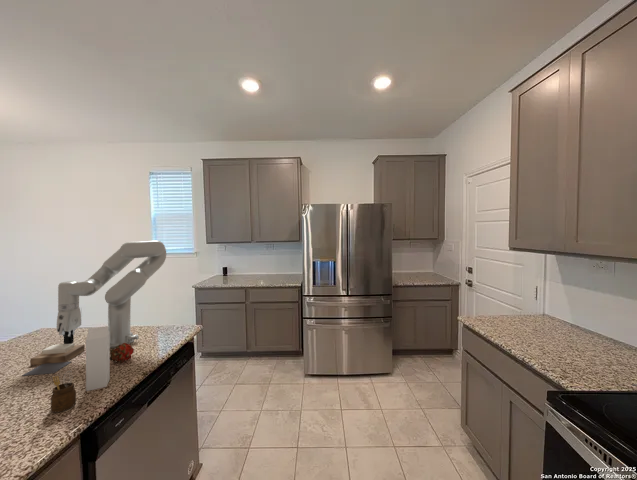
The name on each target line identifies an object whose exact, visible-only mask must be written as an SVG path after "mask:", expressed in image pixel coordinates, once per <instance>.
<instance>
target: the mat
mask: <svg viewBox="0 0 637 480" xmlns="http://www.w3.org/2000/svg"><path fill="white" fill-rule="evenodd" d="M71 363H72V361H67V362H59V363H47V364H42V365H37V366H36V367H35V368H33V369H31V370H29V371H28V372H25V373H24V374H22V375H21V376H22V377H27V376H28V377H29V376H37V375H48V374H49V375H51V374H55V373H58V371H60V370H62V369H63V368H65V367H66V366H68V365H69V364H71Z"/></svg>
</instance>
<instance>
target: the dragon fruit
mask: <svg viewBox="0 0 637 480" xmlns="http://www.w3.org/2000/svg"><path fill="white" fill-rule="evenodd" d="M134 351H135V350H134V347H133V346H132V345H130V344H127V343H123V344H122V345H118V346H117V347H115V348H111V350H110V361H112V362H115V363H117V364H123V363H124V362H125V361H129V360H131V359H132V355H133V354H134Z"/></svg>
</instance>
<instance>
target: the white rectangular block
mask: <svg viewBox="0 0 637 480" xmlns="http://www.w3.org/2000/svg"><path fill="white" fill-rule="evenodd" d="M74 345H75V343H72V344H64V343H63V344H62V343H61V344H52V345H50V346H47V347H46V348H44V349H42V350H41V353H42V354H56V353H66V352H68V351H69V350H71V349H73V348H74Z"/></svg>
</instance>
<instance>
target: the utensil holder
mask: <svg viewBox="0 0 637 480" xmlns="http://www.w3.org/2000/svg"><path fill="white" fill-rule="evenodd" d="M66 373H68V374H66V375H63V381H62V382H63V383H61V380H60V377H59V375H57V376H56V375H55V376H54V375H53V376H52V380H53V384H54V385H55V386H54V387H53V388H52V392H51V393H52V394H51V396H50V411H51V413H55V414H56V413H61V412H65V411H68V410H70V409H72V408H73V407H74V406H75V404H76V401H77V396H76V395H77V392H76V388H75V383H74V382H72V380H73V378H74V376H71V371H69V370H67V371H66ZM68 375H69V376H71V378H70V380H67V378H66V377H69V376H68ZM65 380H67V382H66V381H65Z"/></svg>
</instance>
